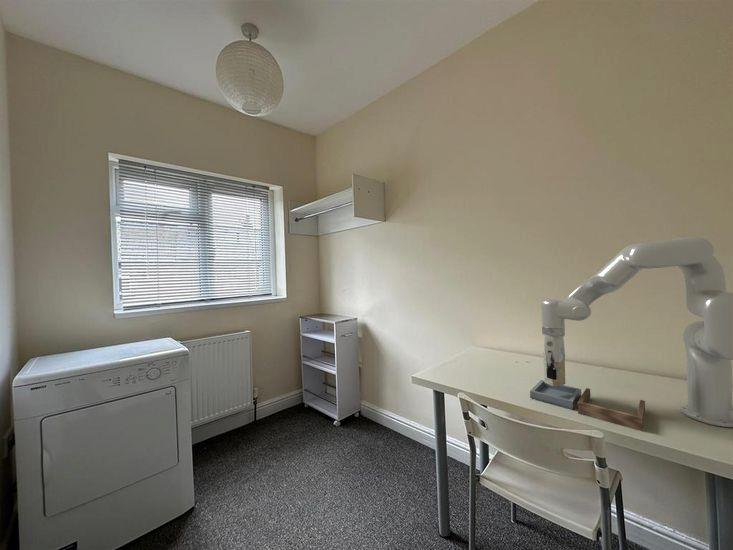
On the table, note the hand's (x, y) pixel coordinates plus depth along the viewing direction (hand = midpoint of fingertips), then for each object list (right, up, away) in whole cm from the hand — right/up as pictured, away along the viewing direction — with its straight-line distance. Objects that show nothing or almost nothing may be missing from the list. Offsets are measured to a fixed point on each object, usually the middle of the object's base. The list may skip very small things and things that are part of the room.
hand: (554, 375), depth 113 cm
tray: (+1, -9, 0) cm, 9 cm away
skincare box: (0, -4, 0) cm, 4 cm away
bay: (+11, -9, -13) cm, 19 cm away
